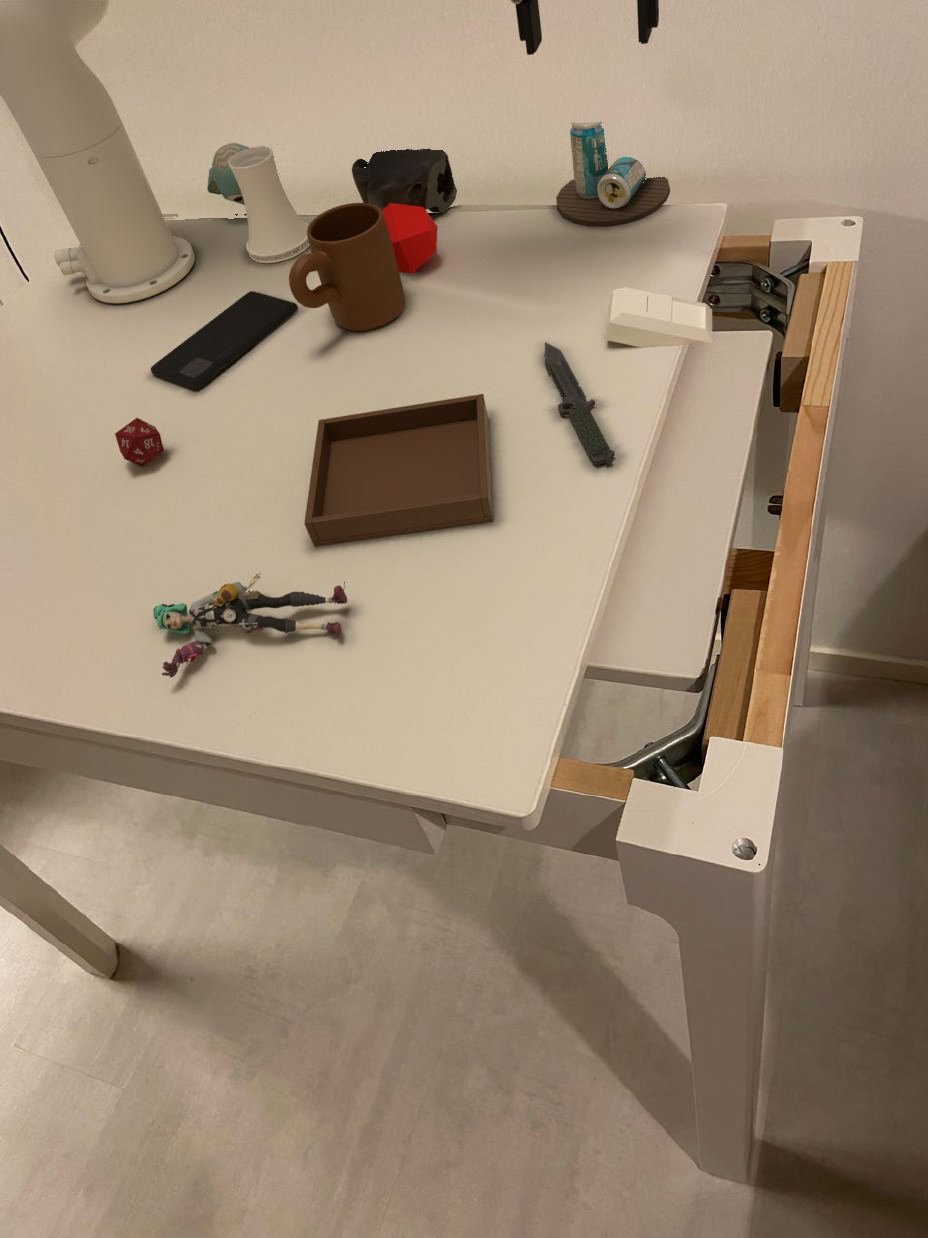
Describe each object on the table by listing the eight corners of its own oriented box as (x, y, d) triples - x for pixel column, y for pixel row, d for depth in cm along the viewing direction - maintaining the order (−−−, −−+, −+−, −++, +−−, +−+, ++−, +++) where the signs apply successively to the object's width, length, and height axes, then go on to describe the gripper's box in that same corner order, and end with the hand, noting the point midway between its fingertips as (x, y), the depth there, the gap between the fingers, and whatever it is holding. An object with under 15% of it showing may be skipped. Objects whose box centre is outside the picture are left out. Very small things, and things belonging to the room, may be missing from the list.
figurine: (140, 678, 65) (165, 696, 68) (342, 617, 64) (358, 639, 67) (135, 590, 68) (159, 611, 72) (327, 530, 67) (342, 555, 70)
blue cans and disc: (583, 166, 106) (577, 91, 100) (686, 172, 101) (687, 94, 95) (537, 220, 100) (528, 143, 94) (644, 230, 95) (641, 150, 89)
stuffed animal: (242, 240, 121) (199, 220, 109) (222, 184, 120) (177, 158, 108) (317, 208, 118) (281, 183, 107) (297, 150, 117) (259, 119, 106)
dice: (118, 472, 85) (97, 438, 82) (148, 440, 87) (129, 405, 84) (150, 479, 83) (130, 444, 80) (180, 447, 85) (161, 411, 82)
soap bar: (608, 307, 86) (615, 281, 83) (705, 326, 86) (715, 301, 83) (604, 339, 83) (612, 314, 80) (705, 360, 83) (715, 334, 80)
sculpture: (352, 250, 96) (273, 222, 101) (369, 295, 101) (293, 267, 106) (471, 128, 102) (390, 109, 108) (482, 177, 107) (404, 156, 113)
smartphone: (251, 294, 101) (149, 374, 94) (248, 287, 100) (146, 367, 93) (301, 308, 97) (199, 392, 90) (298, 300, 96) (196, 385, 90)
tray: (313, 546, 74) (304, 523, 72) (326, 442, 82) (318, 419, 80) (493, 521, 72) (487, 496, 70) (488, 417, 80) (483, 393, 78)
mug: (344, 366, 89) (314, 275, 82) (288, 348, 93) (255, 260, 86) (422, 298, 94) (400, 207, 87) (366, 284, 98) (341, 195, 91)
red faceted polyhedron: (452, 271, 99) (381, 294, 101) (436, 208, 99) (365, 233, 101) (440, 249, 93) (363, 275, 94) (422, 182, 92) (346, 208, 94)
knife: (625, 453, 73) (587, 464, 73) (625, 462, 73) (588, 472, 73) (558, 333, 85) (526, 342, 85) (559, 341, 85) (528, 350, 85)
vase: (322, 226, 108) (294, 137, 101) (300, 261, 104) (270, 171, 96) (263, 229, 110) (231, 143, 103) (239, 264, 106) (205, 176, 98)
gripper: (698, -251, 68) (696, 15, 81) (469, -208, 73) (502, 35, 86) (686, -226, 63) (686, 51, 76) (443, -182, 69) (482, 70, 82)
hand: (589, 42), depth 81 cm, fingers open, 9 cm apart
